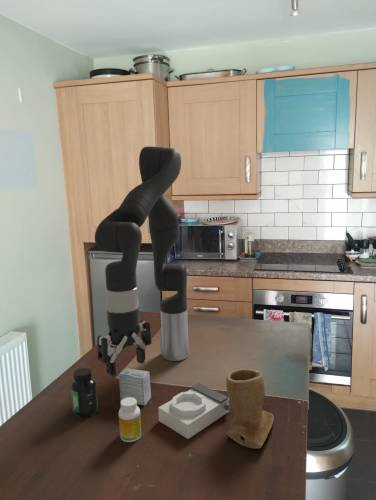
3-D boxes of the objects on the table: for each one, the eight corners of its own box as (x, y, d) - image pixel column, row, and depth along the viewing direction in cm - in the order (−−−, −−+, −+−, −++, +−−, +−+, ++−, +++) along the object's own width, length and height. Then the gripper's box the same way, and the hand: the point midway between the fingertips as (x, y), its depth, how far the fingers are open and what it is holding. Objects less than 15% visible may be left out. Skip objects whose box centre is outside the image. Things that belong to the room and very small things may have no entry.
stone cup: (235, 408, 118) (235, 359, 115) (278, 419, 113) (279, 367, 109) (214, 441, 105) (213, 386, 102) (260, 455, 100) (261, 397, 96)
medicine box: (151, 398, 124) (150, 371, 122) (145, 406, 120) (143, 378, 118) (127, 393, 127) (125, 367, 125) (120, 402, 123) (118, 374, 121)
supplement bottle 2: (137, 444, 105) (135, 408, 102) (116, 441, 106) (114, 406, 104) (144, 430, 110) (142, 396, 108) (124, 428, 111) (122, 394, 109)
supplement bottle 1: (76, 421, 114) (72, 380, 112) (70, 408, 120) (67, 369, 118) (101, 413, 117) (98, 374, 115) (94, 401, 123) (91, 363, 121)
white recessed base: (191, 441, 105) (190, 421, 104) (159, 420, 113) (158, 402, 112) (232, 413, 116) (232, 395, 115) (200, 396, 124) (199, 379, 123)
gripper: (136, 295, 108) (140, 354, 111) (87, 310, 98) (93, 374, 101) (156, 301, 102) (158, 363, 106) (106, 318, 93) (111, 385, 96)
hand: (126, 368), depth 104 cm, fingers open, 8 cm apart
